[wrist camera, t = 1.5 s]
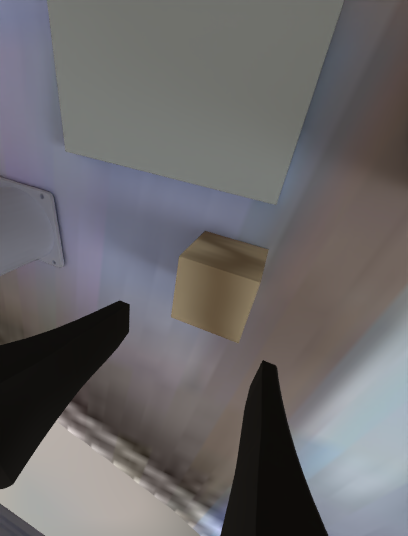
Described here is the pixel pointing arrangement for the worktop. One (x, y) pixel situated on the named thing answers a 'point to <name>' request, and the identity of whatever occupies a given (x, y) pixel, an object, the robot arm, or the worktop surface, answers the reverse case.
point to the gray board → (191, 85)
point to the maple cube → (218, 284)
